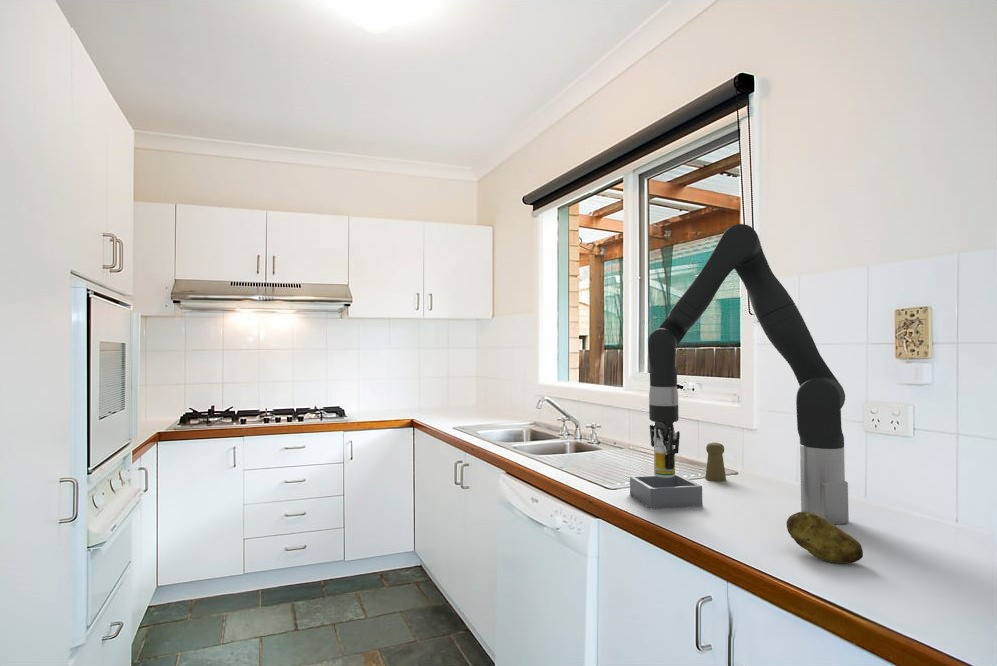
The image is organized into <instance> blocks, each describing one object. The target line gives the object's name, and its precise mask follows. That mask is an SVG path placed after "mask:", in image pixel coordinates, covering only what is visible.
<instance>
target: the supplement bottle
mask: <svg viewBox="0 0 997 666" xmlns="http://www.w3.org/2000/svg"><path fill="white" fill-rule="evenodd" d="M666 443H668V441H666ZM656 444H657V445H658V447H656V448H655V449H654V448H653V463H654V464H653V473H654V474H653V475H655V476H657V477H661V478H672V477H674V476H675V474H676V454H675V455H674V469H666V468H665V452H664V447H663V446H662V445H661V440H659V439H657V443H656ZM667 448H668V446H667Z"/></svg>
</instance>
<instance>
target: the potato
mask: <svg viewBox="0 0 997 666" xmlns="http://www.w3.org/2000/svg"><path fill="white" fill-rule="evenodd" d="M786 529H787V532H788V534H789V535H790V537H791V538H792V539H793V540H794V542H795V543H796V544H797V545H798V546H800V547H801V548H802V549H804V550H805V551H807V552H808V553H809V554H811V555H812V556H813V557H815V558H817V559H819V560H822V561H825V562H829V563H837V564H854V563H856V562H859V561H860V560H862V558H863V556H864V552H863V551H864V550H863V547H862V545H861V543H860V541H858V540H857V539H856V538H855V537H853V536H851V535H850V534H848V533H847V532H845V531H844V530H842V529H840V528H839V527H837V526H836V524H832V523H830V522H828V521H827V520H825V519H824V518H822V517H821V516H819V515H817V514H814V513H810V512H801V511H799V512H796V513H793V514H791V515H790V516H789V517H788V518H787V520H786Z"/></svg>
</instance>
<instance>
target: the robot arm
mask: <svg viewBox="0 0 997 666" xmlns="http://www.w3.org/2000/svg"><path fill="white" fill-rule="evenodd" d="M733 270H734V271H735V272H736V274H737V276H738V277H739V278H740V280H741V282H742V283H743V285H744V287H745V290H746V292H747V296H748V298H749V302H750V304H751V307H752V309H753V312H754V315H755V316H756V319H757V320H758V323H759V325H760V326H761V328H762V331H763V332H764V334H765V336H766V337H767V340H769V342H770V343H771V344H772V346H773V347H774V349H775V350H776V351H777V352H778V353H779V354H780V355H781V356H782V358H784V360H785V362H787V364H788V365H789V366H790V369H791V370H792V372H793V374H794V377H795V378H796V380H797V382H798V385H799V387H798V390H797V393H796V396H795V397H796V398H795V399H796V400H795V401H796V403H795V404H796V406H795V407H796V425H797V427H796V428H797V433H798V437H799V464H800V465H799V468H800V469H799V471H800V473H799V475H800V478H799V479H800V508H801V511H800V512H810V513H814V514H817V515H819V516H821V517H822V518H824V519H825V520H827V521H828V522H830V523H832V524H834V525H841V524H842V525H843V524H849V523H850V521H849V518H850V517H849V515H850V514H849V512H850V511H849V483H848V481H846V473H845V472H846V471H845V470H846V469H845V466H846V465H845V437H844V436H845V435H844V433H843V428H842V408H843V406H844V405H845V401H846V393H845V390H844V387H843V386H842V385H841V383H840V382H839V380H838V379H837V377H836V376H835V375H834V373H833V371H831V369H830V368H829V366H828V365H827V363H826V362H825V360H824V358H823V357H822V355H821V354H820V351H819V350H818V348H817V345H816V343H815V340H814V338H813V336H812V334H811V332H810V329H809V328H808V325H807V324H806V322H805V320H804V317H803V316H802V314H801V312H800V311H799V308H798V306H797V305H796V303H795V302H794V300H793V298H792V297H791V295H790V294H789V292H788V290H787V289H786V288H785V287H784V286H783V284H782V283H781V282H780V280H779V279H778V278H777V277H776V275H775V274H774V273H773V271H772V269H771V267H770V264H769V263H768V260H767V258H766V256H765V253H764V251H763V248H762V244H761V240H760V237H759V235H758V233H757V232H756V230H755V229H754V228H753V227H752V226H751V225H748V224H745V223H737V224H734V225H731V226H729V227H728V228H727V229H725V231H724V232H723V234H722V235H721V237H720V239H719V241H718V242H717V244H716V246H715V248H714V250H713V252H712V253H711V255H710V256H709V258H708V260H707V261H706V263H705V265H704V266H703V267H702V269H701V270H700V272H699V273H698V275H696V277H695V279H694V280H693V281H692V282H691V284H690V285H689V286H688V287H687V289H686V290H685V291H684V293H683V294H682V295H681V297H679V299H678V300H677V302H675V304H674V305H673V307H672V308H671V310H670V311H669V312H668V316H667V317H666V318H665V319H664V321H662V323H661V324H660V326H659V327H658V328H656V329H654V330H653V331H651V333H650V334H649V336H648V340H647V350H648V359H649V360H648V361H649V369H650V370H649V392H648V400H649V401H648V407H649V408H648V411H649V412H648V414H649V418H648V419H649V420H650V421H651V422H654V424H650V425H649V436H650V446H651V448H653V450H654V449H655V448H656V447H658V445H657V444H656V443H657V439H659V440H661V445H662V446H663V447H664V452H665V468H666V469H674V455H675V456H676V454H679V451H680V450H679V449H680V447H679V446H680V437H681V436H680V435H681V433H680V431H678V430H677V431H676V430H675V428H674V423H676V422H678V421H679V391H678V371H677V367H676V348H677V347H678V346H679V345H680V343H681V341H682V340H683V339H684V337H685V336H686V335H687V333H688V332H689V330H690V329H691V328H692V327H693V326H694V324H695V323H696V322H697V321H698V320H699V319H700V318H701V316H702V315H703V314H704V313H705V311H706V309H708V308H709V306H710V304H711V303H712V301H713V299H714V298H715V296H716V294H717V292H718V291H719V289H720V287H721V286H722V284H723V283H724V282H725V280H726V278H727V277H729V275H730V273H731V272H733ZM666 441H668V443H666ZM667 446H668V448H667Z"/></svg>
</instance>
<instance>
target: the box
mask: <svg viewBox="0 0 997 666" xmlns="http://www.w3.org/2000/svg"><path fill="white" fill-rule="evenodd" d="M629 496H632V497H633V498H634V499H636V500H637V501H639V502H640V501H641V502H640V503H641V504H643V503H644V504H643V505H644V506H646V505H647V506H648V507H647V506H646V507H647V508H649V509H650V508H655V509H666V508H667V509H668V508H687V507H701V506H703V485H701V484H698V483H697V482H694V481H693V480H691V479H689V478H686V477H684V476H682V475H680V474H678V473H675V476H674V477H672V478H661V477H657V476H655V475H654V474H652V475H636V476H635V475H634V476H633V475H632V476H629Z"/></svg>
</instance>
